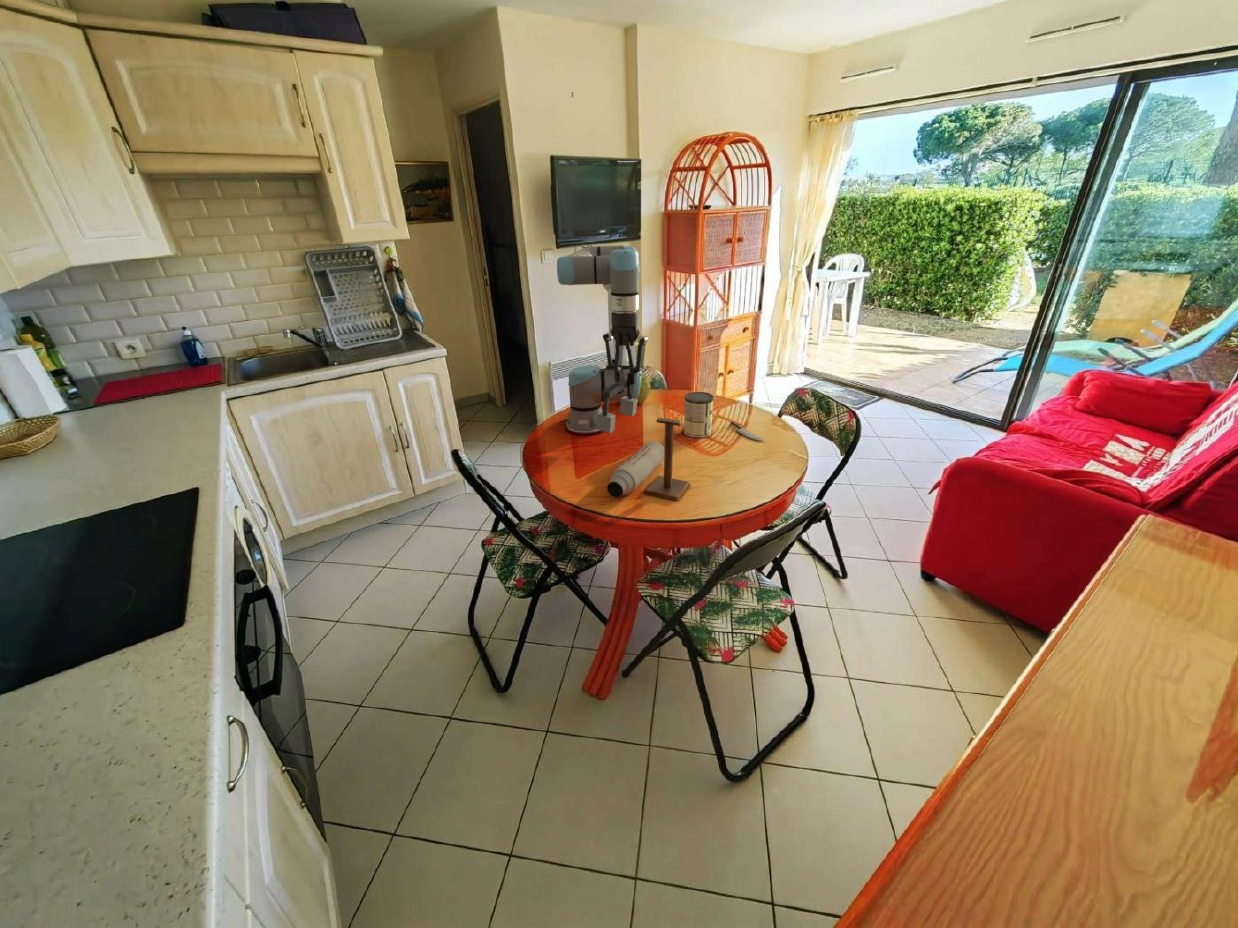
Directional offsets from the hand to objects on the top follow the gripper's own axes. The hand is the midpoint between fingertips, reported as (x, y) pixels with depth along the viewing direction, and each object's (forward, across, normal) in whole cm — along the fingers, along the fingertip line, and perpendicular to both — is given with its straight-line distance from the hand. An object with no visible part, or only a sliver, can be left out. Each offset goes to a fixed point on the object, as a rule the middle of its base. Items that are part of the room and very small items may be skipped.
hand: (625, 393), depth 149 cm
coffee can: (+27, +9, +41) cm, 50 cm away
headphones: (+8, -1, -4) cm, 9 cm away
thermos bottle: (+22, +5, +11) cm, 25 cm away
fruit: (+26, -28, +60) cm, 71 cm away
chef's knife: (+26, +25, +47) cm, 60 cm away
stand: (+27, +16, -4) cm, 31 cm away
